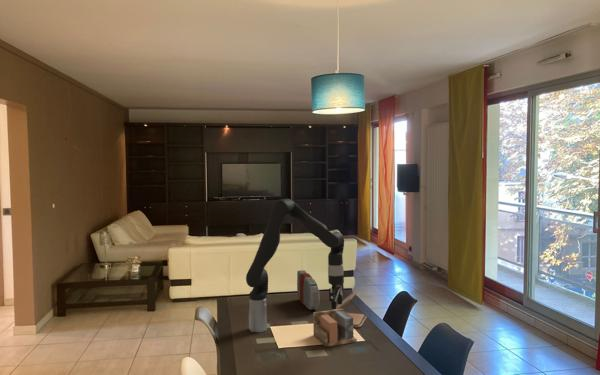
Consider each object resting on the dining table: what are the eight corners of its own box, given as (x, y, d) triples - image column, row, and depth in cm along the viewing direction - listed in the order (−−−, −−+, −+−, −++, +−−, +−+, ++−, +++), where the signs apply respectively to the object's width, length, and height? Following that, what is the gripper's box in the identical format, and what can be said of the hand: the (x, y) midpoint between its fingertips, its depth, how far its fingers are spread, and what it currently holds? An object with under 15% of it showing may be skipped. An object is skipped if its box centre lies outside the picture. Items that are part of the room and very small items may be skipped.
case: (333, 313, 269) (332, 287, 268) (368, 316, 262) (367, 289, 261) (323, 325, 250) (322, 296, 249) (360, 329, 242) (360, 300, 241)
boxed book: (329, 343, 219) (329, 323, 219) (320, 334, 230) (320, 315, 230) (337, 342, 220) (337, 322, 220) (327, 333, 232) (327, 314, 231)
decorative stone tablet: (296, 269, 294) (310, 285, 266) (305, 268, 296) (321, 284, 268) (295, 298, 297) (310, 316, 269) (305, 297, 299) (320, 315, 271)
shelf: (325, 346, 219) (324, 322, 218) (313, 335, 234) (313, 312, 234) (356, 341, 225) (356, 318, 224) (343, 330, 240) (343, 308, 239)
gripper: (338, 277, 211) (339, 311, 211) (347, 270, 223) (349, 303, 224) (323, 276, 214) (324, 310, 214) (333, 269, 227) (334, 301, 227)
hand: (337, 306), depth 219 cm, fingers open, 8 cm apart
